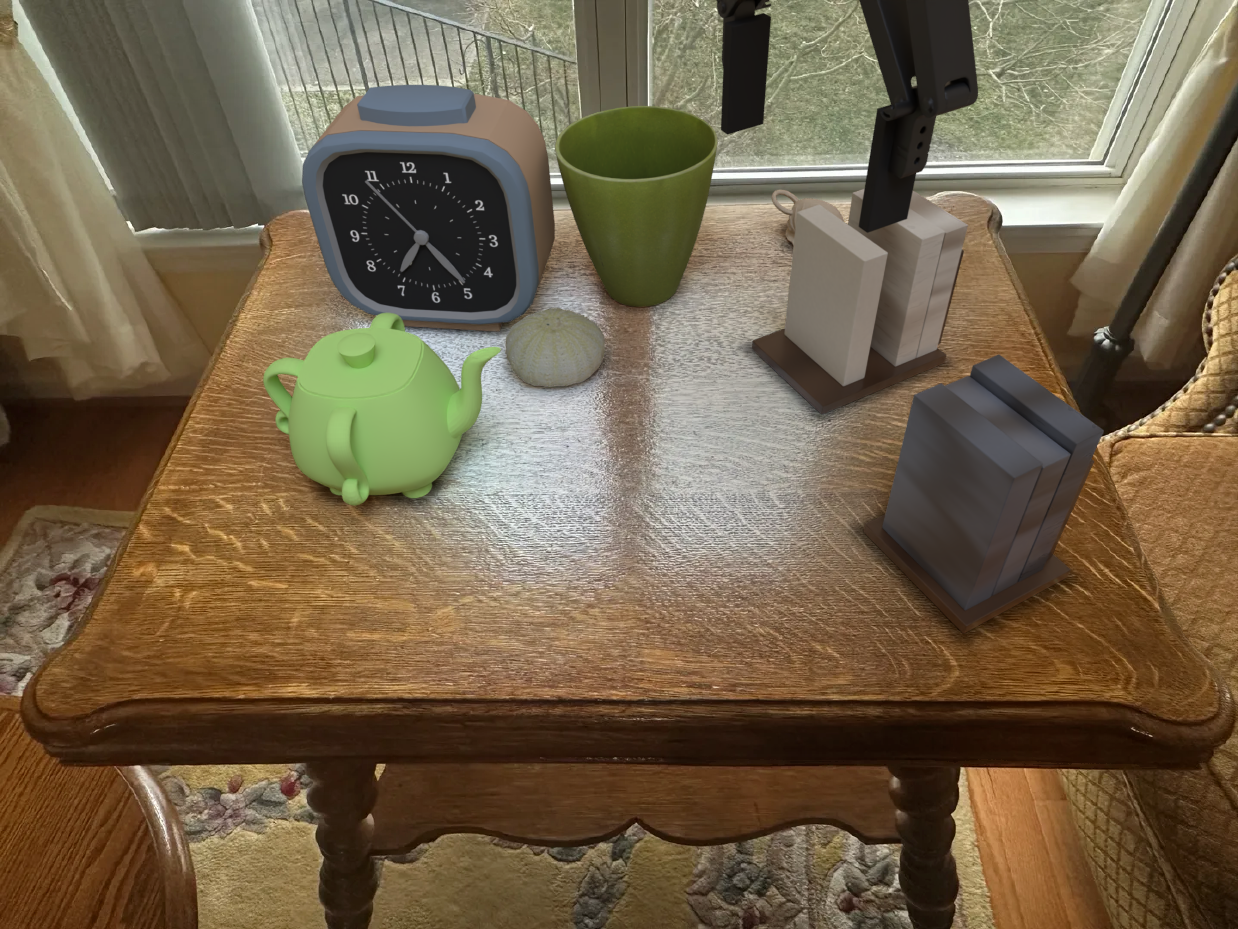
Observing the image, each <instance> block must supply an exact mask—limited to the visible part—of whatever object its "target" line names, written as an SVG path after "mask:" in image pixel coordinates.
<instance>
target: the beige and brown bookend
mask: <svg viewBox="0 0 1238 929" xmlns="http://www.w3.org/2000/svg"><path fill="white" fill-rule="evenodd" d="M864 189H865V188H862V189H860V190H856V191H853V192H852V194H851V201H850V207H849V213H848V220H847V224H848V225H849V226H851V227H852V228H854V229H855V230H856V231H858V232H859V233H861V234H862V235H863V236H865V237H866V238H868V239H869V240H871V241H872V242H873V243H875V244H876V245H878V246H879V247H880V248H882V249H883V250H885V251H886V252H887V253H888V255H887V260H886V265H885V271H884V276H883V281H882V287H881V292H880V297H879V303H878V308H877V313H876V318H875V324H874V329H873V334H872V340H871V345H870V350H869V356H868V361H867V366H866V371H865V377H864V378H863V379H860V380H858V381H856V382H853V383H851V384H848V385H846V386H842V385H841V384H840V383H839V382H838V381H836V380H835V379H834V378H833V377H832V376H831V375H830V374H829V373H827V372H826V371H825V370H824V369H823V368H822V367H821V366H819V365H818V364H817V363H816V362H815V361H814V360H813V359H812V358H810V357H809V356H808V355H807V354H806V353H805V352H804V351H802V350H801V349H800V348H799V347H798V346H797V345H796V344H795V343H793V342H792V341H791V340H790V339H789V338H788V337H787V336H786V335H785V334H784V332H785V327H784V328H781V329H778V330H776V331H773V332H771V333H768V334H766V335H763V336H760V337H758V338H755V339H752V340H751V350H752V351H754V353H755V354H756V355H758V356H759V357H760V358H761V359H762V360H763V361H764V362H765V363H766V364H767V365H768V366H769V367H771V368H772V369H773V371H774V372H776V373H777V374H778V375H779V376H780V377H781V378H782V379H783V380H784V381H785V382H787V384H789V385H790V386H791V387H792V388H793V389H794V390H795V391H796V392H797V393H798V394H800V396H802V397H803V398H804V400H806V401H807V403H809V404H810V405H811V406H812V407H813V408H814V409H815V410H816V411H817V412H818V413H820V415H825V414H827V413H829V412H831V411H834V410H836V409H839V408H841V407H843V406H845V405H848V404H850V403H852V402H855V401H857V400H860V399H862V398H865V397H867V396H870V395H872V394H874V393H877V392H879V391H881V390H884V389H886V388H889V387H891V386H893V385H896V384H898V383H900V382H903V381H905V380H907V379H909V378H912V377H914V376H916V375H919V374H922V373H924V372H926V371H929V370H931V369H934V368H936V367H938V366H941V365H943V364H944V363H945V362H946V358H947V354H946V353H945V352H944V351H943V350H941V349H940V348H938V346H939V345H941V344H942V339H943V335H944V331H945V327H946V324H947V323H946V322H947V319H948V315H949V312H950V309H951V305H952V304H951V303H952V299H953V296H954V291H955V288H956V284H957V280H958V276H959V273H960V268H961V264H962V260H963V256H964V253H965V250H964V249H963V247H964V242H965V238H966V235H967V231H968V227H969V224H967V223H966V222H964V221H963V220H961V219H959V218H958V217H956V216H955V215H953V214H951V213H950V212H948V211H946V210H945V209H944V208H942V207H941V206H940V205H937V204H935V203H934V202H933V201H930V200H929V199H927V198H926V197H924V196H922V195H921V194H919V193H918V192H916V191H915V190H913V192H912V197H911V202H910V207H909V212H908V217H907V219H906V220H903V221H900V222H897V223H894V224H891V225H889V226H886V227H883V228H880V229H877V230H874V231H872V232H869V233H867V232H865V231H864V230H863V229H861V228H860V227H859V220H860V214H861V208H862V201H863V195H864Z"/></svg>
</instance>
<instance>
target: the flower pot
mask: <svg viewBox="0 0 1238 929" xmlns="http://www.w3.org/2000/svg"><path fill="white" fill-rule="evenodd" d="M718 139H719V137H718V134H717V132H716V130H715V129H714V128H713V126H712V125H711V124H710V123H709V122H708V121H706V120H704V119H703V118H701V117H699V116H697V115H695V114H693V113H691V112H686V111H684V110H680V109H675V108H670V107H665V106H654V105H633V106H623V107H615V108H612V109H605V110H602V111H598V112H594V113H592V114H588V115H586V116H583V117H581V118H578V119H576V120H575V121H573V122H572V123H570V124H569V125H567V126H566V127H565V128H564V129H563V130H562V131H561V132H560V133H559V134H558V136H557V138H556V140H555V143H554V153H555V157H556V160H557V165H558V169H559V173H560V178H561V180H562V184H563V188H564V191H565V194H566V198H567V201H568V205H569V207H570V210H571V214H572V216H573V219H574V222H575V224H576V227H577V230H578V233H579V235H580V238H581V240H582V242H583V245H584V247H585V249H586V252H587V254H588V257H589V259H590V261H591V263H592V266H593V267H594V269H595V271H596V274H597V276H598V278H599V279H600V281H601V283H602V285H603V287H604V289H605V291H606V292H607V294H608V295H609V297H610V298H611V299H612V300H614V301H615V302H617V303H619V304H622V305H625V306H629V307H638V308H646V307H653V306H656V305H660V304H662V303H664V302H666V301H668V300H669V299H671V298H672V297H673V296H674V295H675V294H676V292H677V290H678V288H679V287H680V284H681V281H682V279H683V276H684V275H685V272H686V270H687V268H688V264H689V262H690V260H691V257H692V254H693V251H694V248H695V245H696V242H697V240H698V236H699V233H700V229H701V226H702V224H703V219H704V215H705V212H706V207H707V203H708V198H709V195H710V194H709V193H710V190H711V189H710V188H711V184H712V178H713V173H714V168H715V162H716V156H717V151H718V150H717V149H718V144H719V143H718V142H719V141H718Z"/></svg>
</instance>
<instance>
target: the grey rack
mask: <svg viewBox="0 0 1238 929" xmlns="http://www.w3.org/2000/svg"><path fill="white" fill-rule="evenodd" d="M1104 431H1105V430H1104V429H1103V428H1101V427H1100V426H1099V425H1097V424H1096V423H1094V422H1093V421H1092V420H1090V419H1089V418H1087V417H1086V416H1085V415H1083V414H1082V413H1081V412H1079V411H1078V410H1076V409H1075V408H1073V407H1072V406H1071V405H1069V404H1068V403H1067V402H1065V401H1064V400H1063V399H1062V398H1060V397H1058V395H1056V394H1054V393H1053V392H1051V390H1049V389H1048V388H1046V387H1045V386H1044V385H1042V384H1041V383H1039V382H1038V381H1037V380H1035V379H1034V378H1032V377H1031V376H1030V375H1028V374H1027V373H1026V372H1025V371H1023V370H1022V369H1020V368H1018V367H1017V366H1016V365H1015V364H1013V363H1012V362H1011V361H1009V360H1008V359H1006V358H1005V357H1004V356H1002V355H1001V354H996V355H994V356H992V357H989V358H986V359H984V360H982V361H980V362H978V363H975V364H973V365H972V366H971V370H970V374H969V375H966V376H964V377H961V378H959V379H956V380H955V381H952V382H950V383H947V384H943V383H938V384H936V385H933V386H930V387H929V388H926V389H923V390H922V391H920V392H919V391H918V392H917V393H915V394H913V397H912V402H911V405H910V410H909V415H908V419H907V422H906V426H905V430H904V435H903V439H902V443H901V448H900V452H899V456H898V460H897V464H896V468H895V473H894V476H893V481H892V484H891V490H890V494H889V496H888V500H887V506H886V510H885V513H884V514H882V515H880V516H879V517H876V518H874V519H872V520H870V521H868V522H866V523H865V524H864V527H863V533H864V534H865V535H866V536H867V537H868V538H869V539H870V540H871V541H872V542H873V543H874V544H875V545H876V547H878V548H879V550H881V552H883V554H884V555H885V556H886V557H887V558H888V559H889V560H891V562H892V563H893V564H894V565H895V566H896V567H897V568H898V569H899V570H900V571H901V572H902V573H903V574H904V575H905V576H906V577H907V578H908V579H909V580H910V581H911V582H912V584H914V585H915V587H916V588H918V589H919V590H920V592H922V594H924V596H926V597H927V599H929V601H930V602H931V603H933V604H934V606H935V607H936V608H937V609H938V610H939V611H940V612H941V613H942V614H943V615H944V616H945V617H946V618H947V619H948V620H949V621H950V622H951V623H952V624H953V625H954V626H955V627H956V628H957V629H958V630H959V631H960V632H961V633H962V634H966V633H968V632H970V631H972V630H973V629H975V628H977V627H979V626H981V625H983V624H984V623H986V622H988V621H990V620H992V619H993V618H996V617H997V616H999V615H1001V614H1003V613H1005V612H1007V611H1009V610H1010V609H1012V608H1014V607H1016V606H1017V605H1020V604H1021V603H1023V602H1025V601H1027V600H1028V599H1030V598H1032V597H1034V596H1035V595H1036V596H1037V595H1038V594H1040V593H1041V592H1044V591H1045V590H1047V589H1049V588H1051V587H1053V586H1055V585H1056V584H1058V583H1061V582H1062V581H1063V580H1066V579H1067V578H1068V577H1069V575H1070V572H1071V570H1072V569H1071V568H1070V567H1069V566H1068V565H1067V564H1066V563H1064V562H1063V561H1062V560H1061V559H1060V558H1059V557H1057V556H1056V555H1055V554H1054V552H1055V551H1056V549H1057V545H1058V544H1059V542H1060V539H1061V537H1062V535H1063V533H1064V530H1065V528H1066V526H1067V524H1068V521H1069V519H1070V517H1071V515H1072V513H1073V510H1074V508H1075V505H1076V504H1077V502H1078V500H1079V497H1080V494H1081V492H1082V491H1083V487H1084V485H1085V483H1086V482H1087V479H1088V477H1089V475H1090V472H1091V470H1092V468H1093V466H1094V464H1095V460H1094V459H1093V458H1094V457H1093V456H1094V454H1095V452H1096V450H1097V447H1098V445H1099V443H1100V441H1101V439H1102V436H1103V434H1104Z"/></svg>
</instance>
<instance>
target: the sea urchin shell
mask: <svg viewBox="0 0 1238 929" xmlns="http://www.w3.org/2000/svg"><path fill="white" fill-rule="evenodd" d="M506 335H507V336H506V337H505V344H504V345H505V346H504V347H505V352H504V354H505V359H507V362H508V363H509V365H510V369H511V370H512V372H513V373H514V374H515V375H516V376H517V377H518V378H520V379H521V380H522V382H524V383H526V384H529V385H532V386H533V387H545V388H547V387H548V388H552V387H568V386H572V385H575V384H580V383H582V382H584V381H586V380H587V379H589V378H591V376H592V375H593V374H594V373H595V372H596V371H597V370H599V368H600V367H601V364H602V362H603V359H604V357H605V353H606V337H605V335H604V332H603V330H602V329H601V327H600V325H598V323H596V321H593V320H591V319H590V318H589V317H587V316H585V315H584V314H581V313H577V312H575V311H573V310H571V309H563V308H560V307H549V308H546V309H544V310H538V311H535V312H533V313H531V314H527V315H526V316H524V317H523V318H522V319H521V320H518V321H517V322H515V323H514V324H513V325H512V327H511V328H510V329H509V331H508V332H507V334H506Z"/></svg>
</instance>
